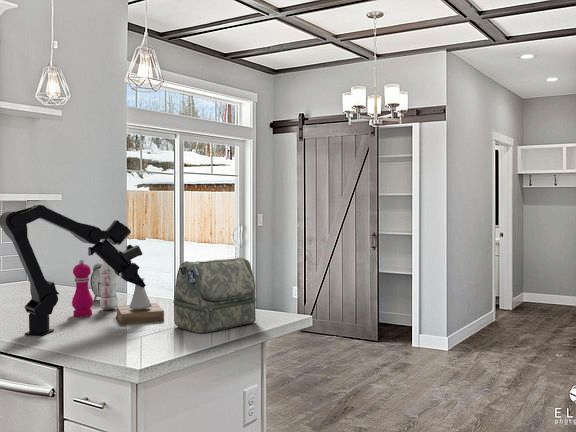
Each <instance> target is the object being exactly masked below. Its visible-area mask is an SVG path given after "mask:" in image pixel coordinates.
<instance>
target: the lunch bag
mask: <svg viewBox="0 0 576 432" xmlns="http://www.w3.org/2000/svg"><path fill="white" fill-rule="evenodd" d="M175 280H176V281H175V287H174V298H173V321H174V322H173V323H174V324H175V326H176V327H178V328H180V329H183V330H186V331H190V332H192V333H197V334H205V333H212V332H217V331H222V330H227V329H231V328H236V327H240V326H244V325H249V324H253V323H255V322H256V321H257V319H256V301H257V300H256V281H255V277H254V273H253V270H252V265H251V263H250V261H249V260H248V259H245V258H243V257H235V258H227V259H226V258H223V259H211V260H206V261H205V260H204V261H203V260H202V261H199V260H198V261H197V260H196V261H183V262H182V263H181V264H180V265H179V266H178V270H177V274H176V279H175Z"/></svg>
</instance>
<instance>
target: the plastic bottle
mask: <svg viewBox="0 0 576 432" xmlns="http://www.w3.org/2000/svg"><path fill="white" fill-rule="evenodd" d="M102 264H103V265H102V266H101V268H100V278H101V297H100V301H99V305H100V308H101V310H106V311H111V310H116V309H117V306H119V300H118V295H117V277H118V275H117V274H116V273H114V270H113V269H112V268H111V267H110V266H109V265H107V264H106V262H105V261H103V260H102Z"/></svg>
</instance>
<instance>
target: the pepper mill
mask: <svg viewBox="0 0 576 432" xmlns="http://www.w3.org/2000/svg"><path fill="white" fill-rule="evenodd" d="M72 274H73V275H74V277H75V278H74V282H75V285H76V286H75V292H74V294H73V297H72V301H71V306H72V308H74V310H73V317H75V318H76V317H77V318H82V317H83V318H85V317H90V316H92V315H93V309H91V308H92V307H93V304H94V298H93V296H92V294H91V292H90V289H89V282H90V277H89V276H91V274H92V271H91V267H90V266H89V264H86V263H85V260H84V259H80V260H79V261H78V264H76V265H75V266H74V267H73V269H72Z"/></svg>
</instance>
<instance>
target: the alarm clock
mask: <svg viewBox="0 0 576 432" xmlns="http://www.w3.org/2000/svg"><path fill="white" fill-rule="evenodd" d="M102 265H103V263H102V262H99V263H98V262H97V263H96V264H94V265H93V267H92V272H91V274H90V278H89V282H90V288H91V291H92V293H93V295H94V298H93V300H96V299H97V297H98V298H101V278H100V268H101V266H102Z"/></svg>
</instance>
